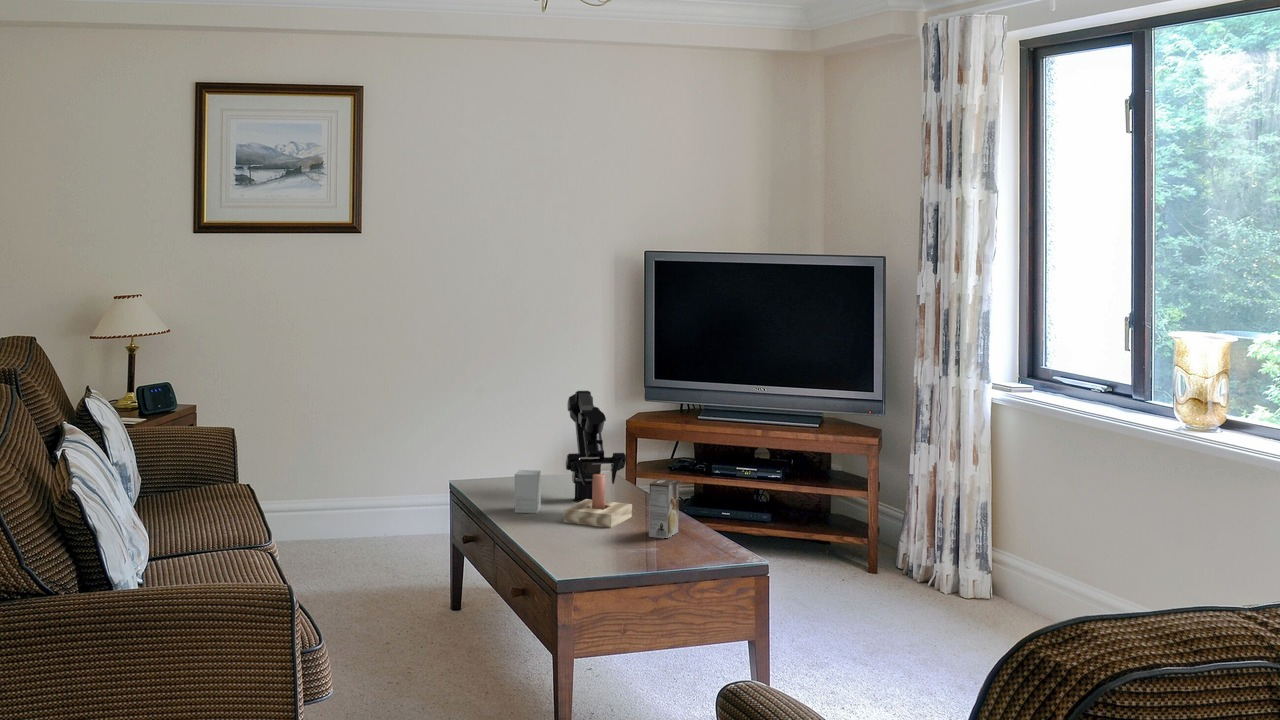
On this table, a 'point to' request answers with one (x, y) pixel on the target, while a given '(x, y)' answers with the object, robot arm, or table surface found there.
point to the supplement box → (527, 491)
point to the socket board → (598, 514)
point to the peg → (598, 491)
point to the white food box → (663, 508)
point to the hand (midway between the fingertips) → (598, 483)
